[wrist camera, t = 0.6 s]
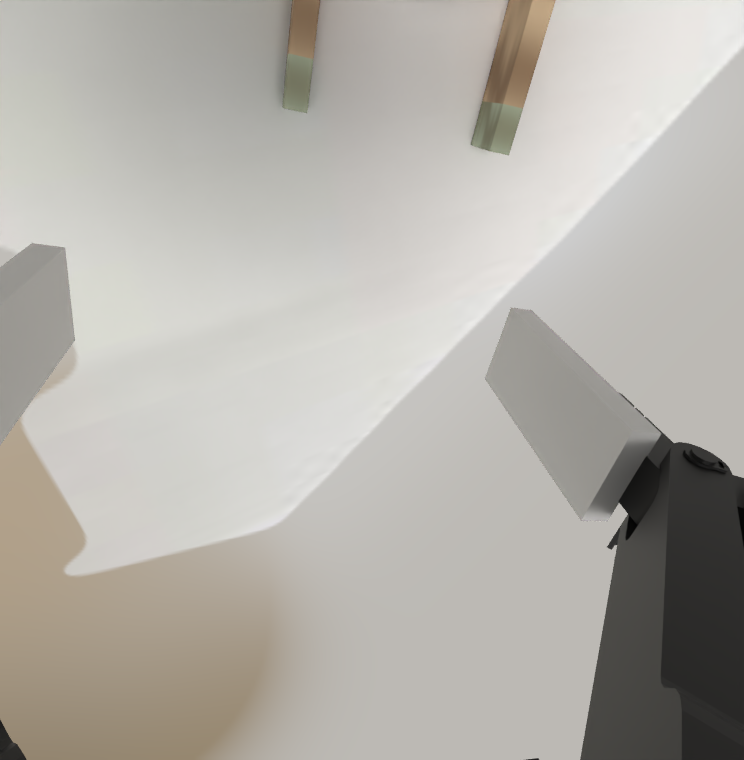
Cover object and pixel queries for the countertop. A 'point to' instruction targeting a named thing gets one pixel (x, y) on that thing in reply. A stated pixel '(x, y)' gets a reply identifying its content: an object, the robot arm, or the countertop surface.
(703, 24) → the countertop surface
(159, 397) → the countertop surface
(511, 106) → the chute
